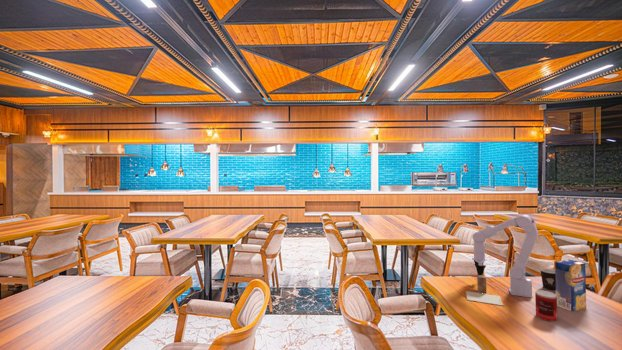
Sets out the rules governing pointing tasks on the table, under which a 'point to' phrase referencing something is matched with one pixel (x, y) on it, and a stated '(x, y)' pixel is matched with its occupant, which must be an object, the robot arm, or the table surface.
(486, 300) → the mat
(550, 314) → the canned food
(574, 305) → the blue cardboard box
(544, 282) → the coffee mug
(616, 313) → the table surface
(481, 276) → the walnut block
